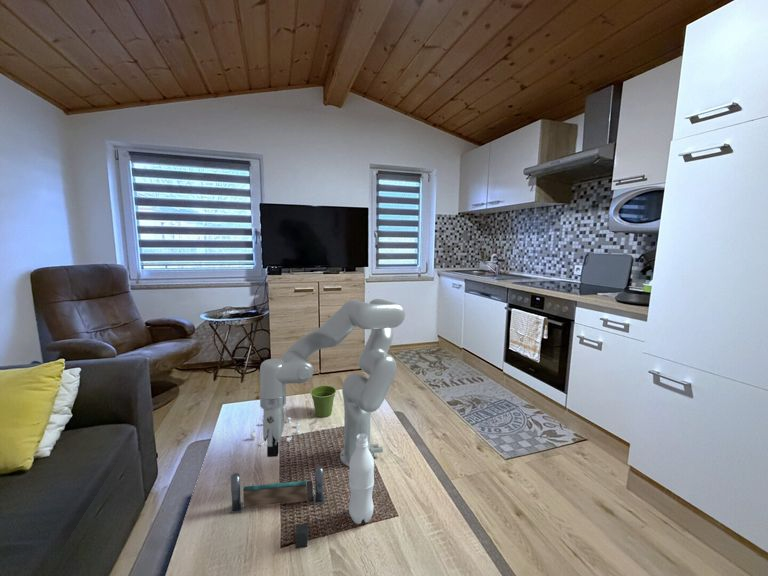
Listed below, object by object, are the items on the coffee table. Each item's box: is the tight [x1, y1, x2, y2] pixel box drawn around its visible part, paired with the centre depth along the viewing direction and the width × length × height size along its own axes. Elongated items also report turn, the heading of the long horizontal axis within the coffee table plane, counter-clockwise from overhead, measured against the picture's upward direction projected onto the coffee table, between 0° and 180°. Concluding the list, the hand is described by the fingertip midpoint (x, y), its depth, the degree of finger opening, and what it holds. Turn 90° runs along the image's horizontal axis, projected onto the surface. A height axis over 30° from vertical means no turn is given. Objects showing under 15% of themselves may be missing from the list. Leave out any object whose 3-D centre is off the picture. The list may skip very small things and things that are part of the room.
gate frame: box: [228, 465, 326, 549], centre depth 91 cm, size 27×17×11 cm, turn 99°
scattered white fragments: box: [250, 417, 301, 447], centre depth 135 cm, size 19×20×4 cm
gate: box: [242, 479, 314, 508], centre depth 98 cm, size 20×2×6 cm, turn 99°
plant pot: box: [309, 384, 337, 418], centre depth 150 cm, size 12×12×11 cm
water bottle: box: [348, 434, 375, 525], centre depth 93 cm, size 7×7×25 cm
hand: (272, 455), depth 102 cm, fingers closed
